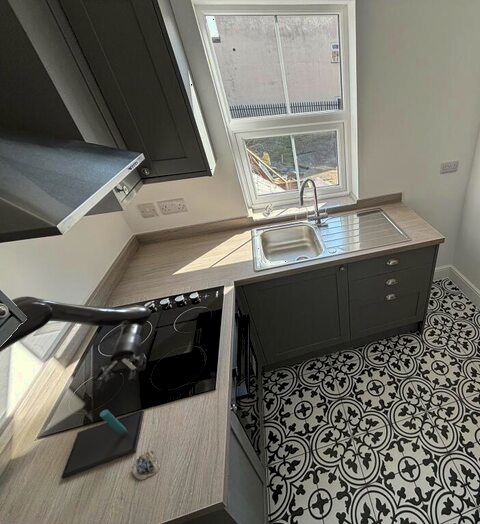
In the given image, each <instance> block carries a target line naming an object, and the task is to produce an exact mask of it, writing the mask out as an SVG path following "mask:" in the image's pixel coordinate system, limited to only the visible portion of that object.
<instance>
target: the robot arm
mask: <svg viewBox="0 0 480 524" xmlns="http://www.w3.org/2000/svg"><path fill="white" fill-rule="evenodd" d="M11 300H12V301H13V302H14V303H15V304H16V305H17V307H18V308H19V309H20V310H21V311H22V312H23V313H24V314H25V315H26V316H27V320H26V321H25V322H24V323H23V324H21V325H20V326H19V327H18V329H17V330H16V331H15V332H14V333H13V334H12V336H11V337H10V338H9V339H8V340H7V341H6V342H5V343H4V344H3V345H2V346H1V347H0V353H1V352H3V351H5V350H6V349H7V348H10V347H11V346H13V345H14V344H17V342H19V341H21V340H23V339H24V338H26V337H28V336H30V335H31V334H33V333H36V332H37V331H39V330H40V329H41V328H43V327H45V326H46V325H47V324H48V323H49V322H61V323H71V324H78V325H82V326H83V325H85V326H90V327H117V326H119V325H121V326H120V330H121V331H120V334H119V336H118V339H117V341H116V342H115V345H114V347H113V350H112V353H111V356H110V361H109V363H108V364H107V365H104V366H103V365H102V364H99V365H98V366H97V368H96V369H95V372H94V374H93V376H92V378H91V381H92V382H93V383H94V384H95V385H96V386H95V391H96V392H97V393H98V394H103V393H104V390H105V387H106V385H107V383H108V382H109V380H110V379H111V380H112V379H113V378H115V376H117V375H121V374H122V373H127V372H128V371H129V374H128V378H127V381H128V383H129V384H130V385H132V384H134V382H136V381H137V377H138V374H139V373H140V372H145V370H146V368H147V367H146V366H147V360H148V357H147V356H146V354H145V353H144V352H141V353H140V351H141V347H142V342H143V341H142V340H143V336H144V331H145V330H144V325H145V324H146V323H147V321H149V319H150V318H151V316H152V311H151V309H150V308H149V307H147V306H144V305H140V304H135V305H125V306H120V307H114V306H113V307H112V306H99V305H98V306H97V305H84V304H82V305H81V304H74V303H73V304H72V303H65V302H57V301H53V300H48V299H44V298H38V297H35V296H34V297H33V296H20V297H16V298H13V299H11ZM135 364H137V366H135Z"/></svg>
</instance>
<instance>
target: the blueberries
mask: <svg viewBox="0 0 480 524" xmlns="http://www.w3.org/2000/svg"><path fill="white" fill-rule="evenodd" d="M156 459H157V457H156V454H155V452H154V451H153V450H148V451H147V452H146V453H141V454H140V455H139V456H138V458H136V460H135V463H133V464H132V465H131V467H130V468H131V471H132V474H133V476H134V477H135V478H136V479H138V480H140V481H142V480H145V479H147V478H149V477H152V476H155V475H156V474H157V473H158V472H159V470H160V468H161V463H160V462H159V460H156Z"/></svg>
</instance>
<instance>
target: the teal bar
mask: <svg viewBox="0 0 480 524" xmlns="http://www.w3.org/2000/svg"><path fill="white" fill-rule="evenodd" d="M99 417H100V418H101V419H102V420H103V421H105V423H108V424H109V425H110V426H111V427H112V428H113V429H114V430H115V431H116V432H117V433H118V434H120V435H121V436H125V435H126V434H127V433H128V431H127V430H126V428H125V427H124V426H123V425H122V424H121V423H120V422H119V421H118V420H117V419H118V418H117V417H115V416H114V415H113V414H112V413H111V412H110V411H109V409H104V410H102V411H101V412H100V413H99Z"/></svg>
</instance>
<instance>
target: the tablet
mask: <svg viewBox="0 0 480 524" xmlns="http://www.w3.org/2000/svg"><path fill="white" fill-rule="evenodd" d="M144 415H145V411H144V410H139V411H137V412H133V413H130V414H128V415H125V416H121V417H118V418H116V419H117V420H118V421H119V422H120V423H121V424H122V425H123V426H124V427H125V428H126V430H127V431H128V433H127V434H126V435H125V436H121V435H120V434H118V433H117V432H116V431H115V430H114V429H113V428H112V427H111V426H110V425H109V424H108V423H107V422H104V423H101V424H98V425H95V426H93V427H90V428H86V429H84V430H81V431H78V432H77V433H76V437H75V439H74V442H73V445H72V447H71V450H70V452H69V455H68V457H67V461H66V464H65V467H64V468H63V471H62V474H61V477H60V478H61V479H63V480H65V479H67V478H70V477H72V476H75V475H78V474H80V473H83V472H85V471H88V470H91V469H94V468H96V467H99V466H102V465H104V464H108V463H110V462H112V461H115V460H118V459H121V458H124V457H125V456H126V457H127V456H129V455H132V454H135V453H137V451H138V450H137V449H138V444H139V441H140V434H141V430H142V424H143V421H144V420H143V419H144Z"/></svg>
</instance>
